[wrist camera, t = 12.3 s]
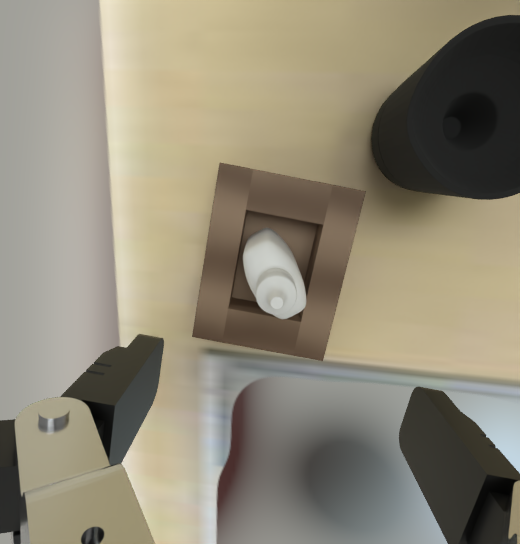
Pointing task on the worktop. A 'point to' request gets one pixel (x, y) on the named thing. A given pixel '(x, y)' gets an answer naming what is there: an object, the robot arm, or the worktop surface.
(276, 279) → the eye dropper bottle
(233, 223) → the recessed rectangular tray
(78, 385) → the robot arm
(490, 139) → the pen holder
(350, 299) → the worktop surface
